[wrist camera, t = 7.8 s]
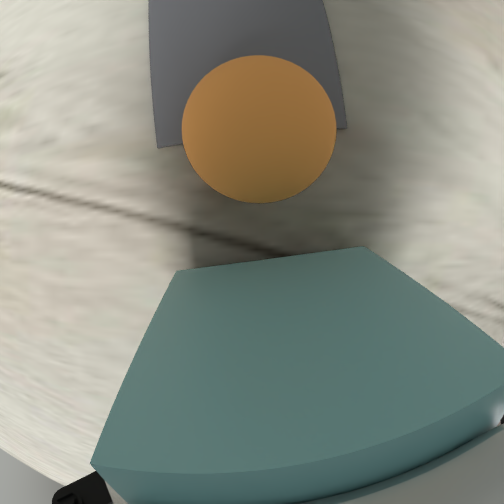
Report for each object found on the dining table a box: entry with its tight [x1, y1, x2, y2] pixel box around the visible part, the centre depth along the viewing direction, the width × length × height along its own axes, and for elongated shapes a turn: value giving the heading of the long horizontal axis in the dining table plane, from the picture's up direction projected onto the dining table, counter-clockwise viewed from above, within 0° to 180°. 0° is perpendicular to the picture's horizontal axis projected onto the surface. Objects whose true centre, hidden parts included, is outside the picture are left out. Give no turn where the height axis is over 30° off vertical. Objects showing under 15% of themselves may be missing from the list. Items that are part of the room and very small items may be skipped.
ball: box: [182, 55, 336, 203], centre depth 9 cm, size 5×5×5 cm
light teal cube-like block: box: [90, 246, 504, 504], centre depth 8 cm, size 8×8×9 cm
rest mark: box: [149, 0, 347, 148], centre depth 10 cm, size 8×8×1 cm
